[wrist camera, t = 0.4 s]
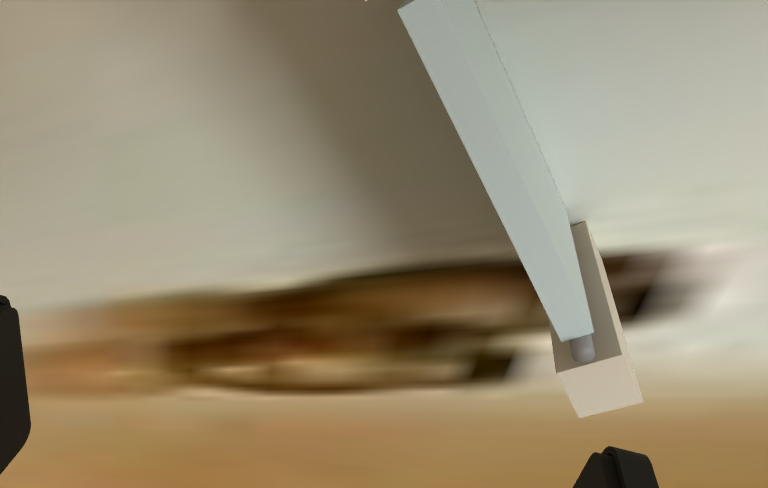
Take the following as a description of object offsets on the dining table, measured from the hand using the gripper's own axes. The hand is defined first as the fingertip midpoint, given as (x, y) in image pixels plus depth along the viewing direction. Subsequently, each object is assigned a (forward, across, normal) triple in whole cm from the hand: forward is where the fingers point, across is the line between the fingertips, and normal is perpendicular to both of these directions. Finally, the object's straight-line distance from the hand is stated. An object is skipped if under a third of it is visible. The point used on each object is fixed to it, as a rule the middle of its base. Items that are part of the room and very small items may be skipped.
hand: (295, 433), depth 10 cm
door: (+28, -6, +2) cm, 29 cm away
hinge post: (+28, -12, +10) cm, 32 cm away
